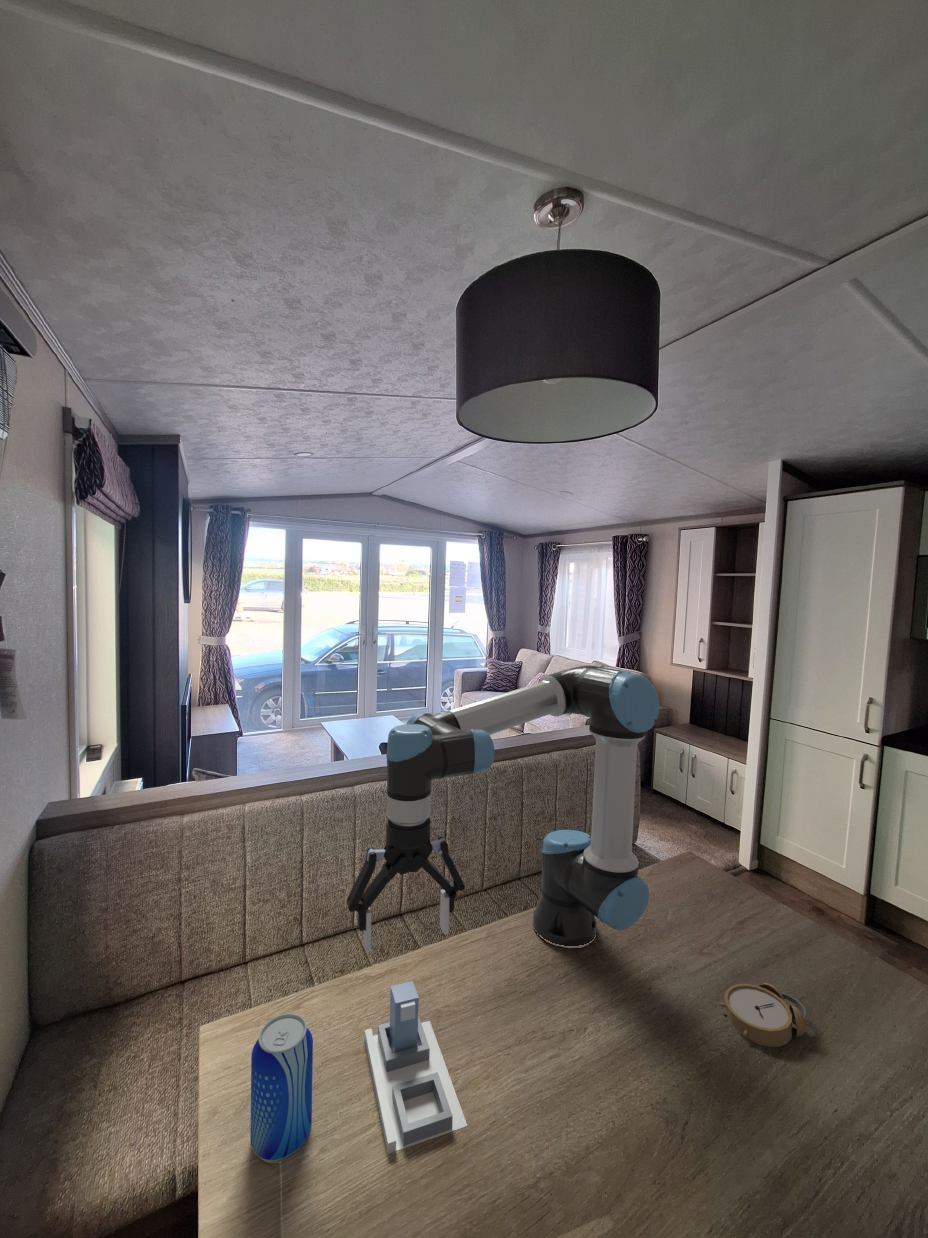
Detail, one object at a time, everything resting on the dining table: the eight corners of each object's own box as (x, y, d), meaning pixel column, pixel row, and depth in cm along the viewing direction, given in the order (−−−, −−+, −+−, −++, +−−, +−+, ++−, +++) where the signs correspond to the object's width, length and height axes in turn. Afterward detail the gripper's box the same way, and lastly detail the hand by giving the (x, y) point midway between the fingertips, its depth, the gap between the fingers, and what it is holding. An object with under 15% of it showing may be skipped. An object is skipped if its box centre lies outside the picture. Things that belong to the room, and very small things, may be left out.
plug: (411, 1035, 92) (412, 981, 91) (418, 1058, 87) (420, 1001, 87) (389, 1041, 91) (390, 986, 90) (395, 1065, 86) (396, 1007, 86)
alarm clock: (710, 989, 103) (776, 969, 105) (713, 1012, 103) (778, 992, 105) (750, 1037, 92) (823, 1013, 94) (753, 1062, 92) (826, 1038, 94)
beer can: (239, 1140, 74) (240, 1033, 74) (291, 1098, 81) (293, 999, 80) (269, 1184, 69) (270, 1069, 68) (322, 1135, 75) (324, 1030, 75)
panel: (429, 1026, 95) (429, 1010, 95) (467, 1132, 76) (467, 1113, 76) (364, 1043, 91) (364, 1027, 91) (387, 1160, 72) (388, 1140, 72)
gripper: (469, 800, 95) (466, 911, 96) (331, 817, 87) (330, 939, 88) (484, 816, 88) (481, 936, 89) (336, 837, 80) (335, 969, 81)
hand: (406, 938), depth 89 cm, fingers open, 13 cm apart
